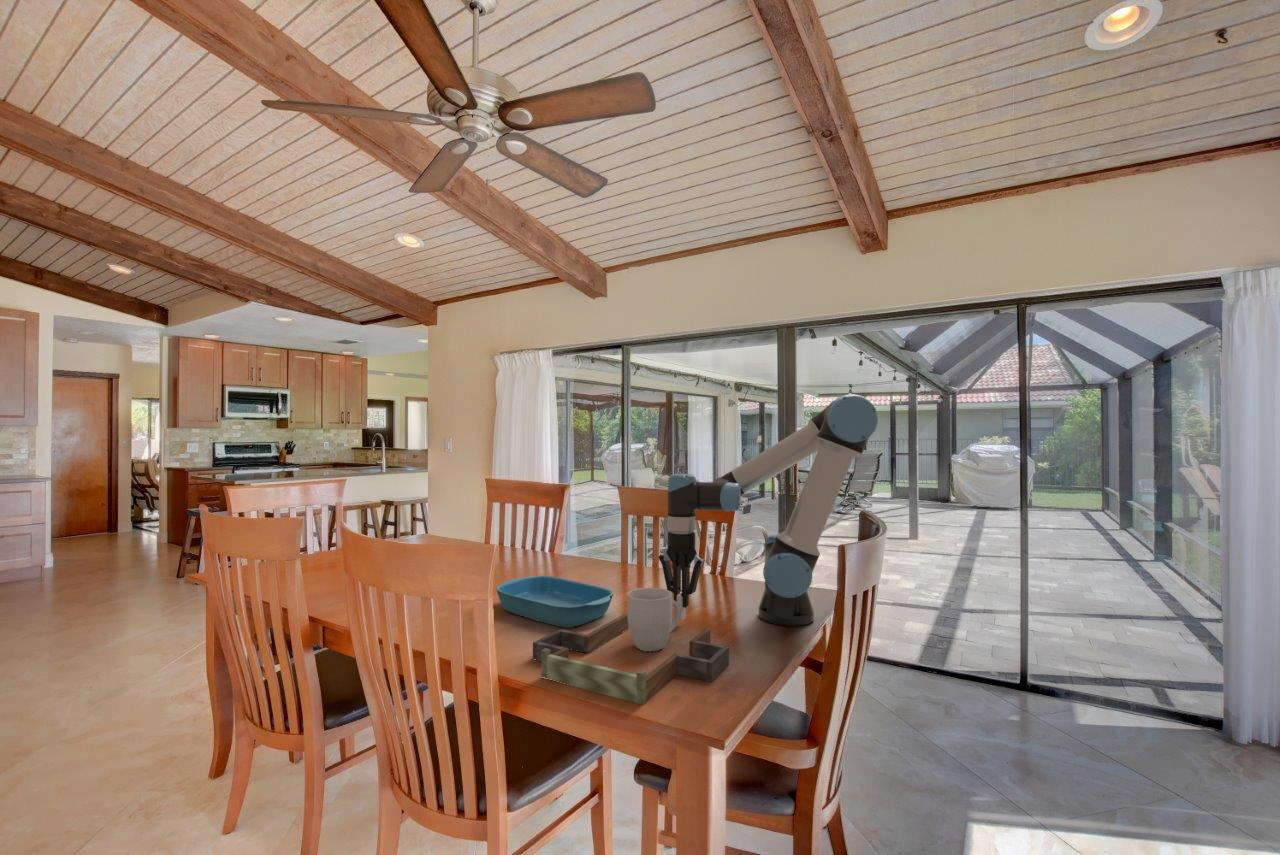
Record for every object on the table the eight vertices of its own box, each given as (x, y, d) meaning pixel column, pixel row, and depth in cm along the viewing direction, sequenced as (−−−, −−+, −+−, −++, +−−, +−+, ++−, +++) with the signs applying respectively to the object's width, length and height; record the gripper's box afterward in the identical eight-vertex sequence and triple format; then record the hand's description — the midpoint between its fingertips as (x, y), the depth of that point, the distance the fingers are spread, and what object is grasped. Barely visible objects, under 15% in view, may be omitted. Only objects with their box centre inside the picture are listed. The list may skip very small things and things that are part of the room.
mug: (663, 632, 152) (663, 582, 152) (693, 644, 144) (693, 591, 144) (618, 645, 143) (618, 592, 143) (646, 659, 134) (647, 602, 134)
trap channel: (741, 651, 139) (741, 626, 139) (680, 714, 109) (680, 682, 109) (599, 623, 159) (599, 601, 159) (512, 671, 128) (512, 643, 128)
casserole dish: (628, 615, 167) (628, 590, 167) (576, 637, 149) (576, 609, 149) (536, 593, 188) (536, 571, 188) (481, 611, 170) (481, 586, 170)
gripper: (709, 531, 158) (708, 618, 158) (666, 527, 164) (665, 610, 164) (698, 535, 151) (697, 626, 151) (653, 531, 157) (653, 618, 157)
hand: (681, 618), depth 157 cm, fingers closed
